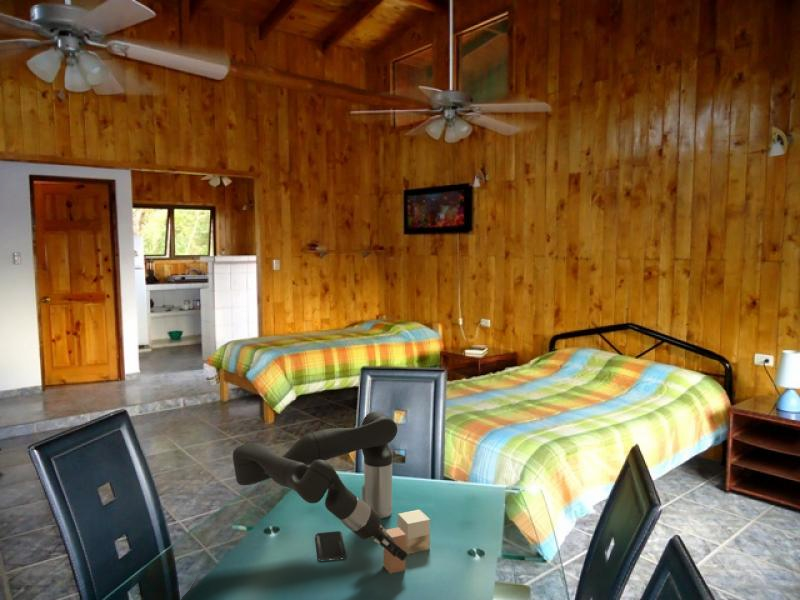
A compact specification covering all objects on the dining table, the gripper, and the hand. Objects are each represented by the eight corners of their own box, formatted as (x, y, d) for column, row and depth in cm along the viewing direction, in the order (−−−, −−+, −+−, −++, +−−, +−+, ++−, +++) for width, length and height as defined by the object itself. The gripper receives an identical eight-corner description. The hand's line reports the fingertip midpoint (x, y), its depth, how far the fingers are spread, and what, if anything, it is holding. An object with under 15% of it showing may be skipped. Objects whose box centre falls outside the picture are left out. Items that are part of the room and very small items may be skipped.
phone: (318, 559, 159) (315, 533, 174) (318, 563, 159) (315, 536, 174) (346, 556, 161) (341, 530, 176) (347, 560, 161) (341, 534, 176)
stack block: (390, 573, 154) (390, 537, 153) (383, 565, 158) (383, 530, 157) (405, 569, 156) (405, 534, 155) (398, 561, 160) (398, 527, 159)
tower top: (407, 539, 164) (408, 523, 163) (397, 528, 170) (398, 513, 170) (429, 534, 167) (430, 519, 166) (419, 523, 173) (419, 509, 173)
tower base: (408, 554, 164) (408, 539, 164) (397, 543, 170) (398, 528, 170) (429, 549, 167) (430, 534, 166) (419, 538, 173) (419, 524, 173)
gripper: (340, 517, 156) (378, 549, 162) (359, 541, 144) (400, 574, 149) (358, 495, 158) (396, 527, 164) (379, 516, 145) (418, 550, 151)
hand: (398, 549), depth 157 cm, fingers open, 8 cm apart
